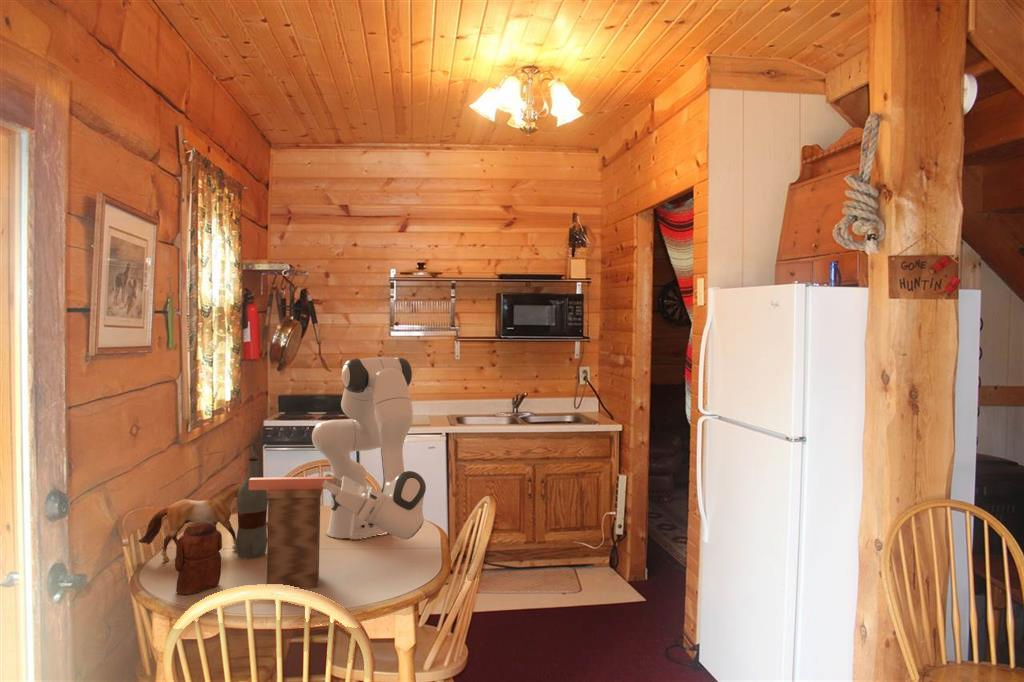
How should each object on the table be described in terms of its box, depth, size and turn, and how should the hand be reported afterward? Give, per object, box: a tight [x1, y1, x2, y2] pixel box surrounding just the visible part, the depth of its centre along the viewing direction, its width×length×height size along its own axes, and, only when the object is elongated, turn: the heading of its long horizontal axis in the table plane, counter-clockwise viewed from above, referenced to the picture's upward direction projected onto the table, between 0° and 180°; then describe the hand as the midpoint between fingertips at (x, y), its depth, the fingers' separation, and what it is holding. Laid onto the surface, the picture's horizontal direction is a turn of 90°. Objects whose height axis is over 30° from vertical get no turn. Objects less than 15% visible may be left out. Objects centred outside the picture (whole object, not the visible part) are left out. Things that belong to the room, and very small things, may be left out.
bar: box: [249, 476, 333, 490], centre depth 204 cm, size 22×3×3 cm, turn 101°
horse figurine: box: [138, 482, 244, 562], centre depth 227 cm, size 31×8×21 cm, turn 123°
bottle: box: [236, 455, 268, 560], centre depth 228 cm, size 9×9×30 cm
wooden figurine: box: [174, 520, 223, 595], centre depth 198 cm, size 12×6×18 cm, turn 152°
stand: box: [266, 489, 324, 589], centre depth 204 cm, size 14×10×26 cm
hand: (324, 479), depth 205 cm, fingers open, 8 cm apart
